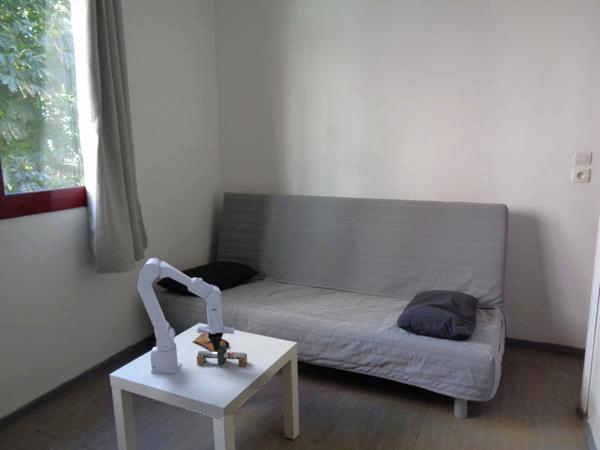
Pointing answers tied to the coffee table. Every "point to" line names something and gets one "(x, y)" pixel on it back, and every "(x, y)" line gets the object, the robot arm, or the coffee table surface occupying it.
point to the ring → (221, 354)
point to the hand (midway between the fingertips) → (217, 350)
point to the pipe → (226, 355)
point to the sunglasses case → (208, 342)
